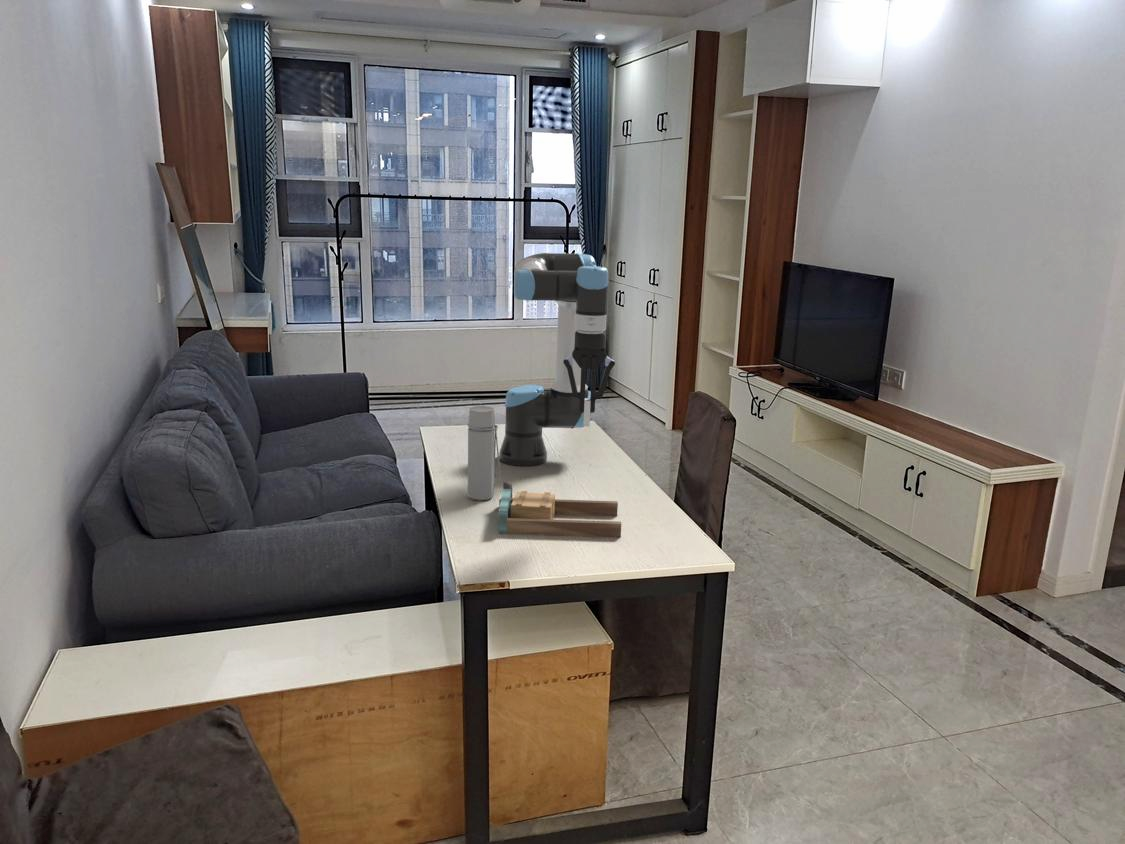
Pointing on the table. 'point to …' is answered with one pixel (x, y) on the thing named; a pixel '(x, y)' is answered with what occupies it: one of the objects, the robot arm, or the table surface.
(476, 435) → the water bottle
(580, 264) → the robot arm
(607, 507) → the bay
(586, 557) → the table surface
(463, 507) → the table surface
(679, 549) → the table surface
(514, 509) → the crate
